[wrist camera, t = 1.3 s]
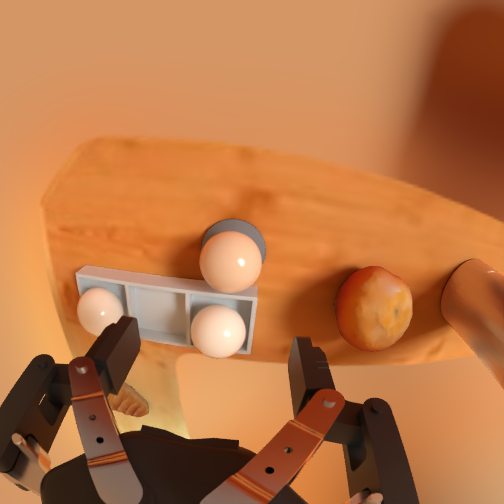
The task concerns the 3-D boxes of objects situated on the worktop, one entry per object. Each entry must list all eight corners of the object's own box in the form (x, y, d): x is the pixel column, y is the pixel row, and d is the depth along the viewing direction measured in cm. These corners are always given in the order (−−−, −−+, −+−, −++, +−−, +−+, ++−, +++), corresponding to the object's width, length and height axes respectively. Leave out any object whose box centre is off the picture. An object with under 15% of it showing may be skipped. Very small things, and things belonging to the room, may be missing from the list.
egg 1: (128, 282, 26) (106, 307, 21) (133, 323, 28) (115, 351, 23) (88, 275, 26) (63, 298, 21) (95, 315, 28) (74, 340, 23)
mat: (269, 222, 25) (269, 223, 24) (261, 281, 27) (261, 283, 26) (203, 216, 25) (202, 216, 24) (201, 275, 27) (200, 277, 26)
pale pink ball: (264, 227, 25) (266, 245, 20) (258, 279, 26) (258, 308, 21) (206, 221, 24) (194, 238, 20) (204, 274, 26) (193, 301, 21)
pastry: (157, 398, 34) (151, 417, 30) (142, 414, 36) (136, 431, 32) (102, 364, 32) (91, 382, 29) (93, 384, 34) (84, 400, 31)
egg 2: (248, 297, 27) (247, 328, 22) (244, 338, 28) (242, 372, 23) (196, 291, 26) (184, 321, 22) (196, 333, 28) (186, 365, 23)
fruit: (302, 321, 27) (350, 334, 19) (337, 257, 29) (390, 250, 21) (351, 353, 28) (401, 370, 21) (381, 295, 30) (432, 297, 23)
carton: (257, 286, 27) (257, 297, 25) (250, 341, 29) (250, 354, 27) (85, 264, 27) (75, 273, 24) (95, 316, 29) (86, 326, 27)
